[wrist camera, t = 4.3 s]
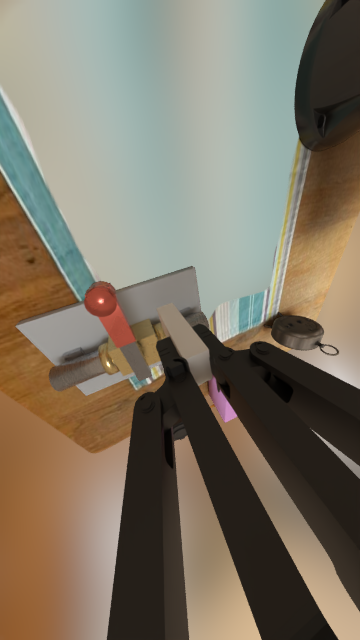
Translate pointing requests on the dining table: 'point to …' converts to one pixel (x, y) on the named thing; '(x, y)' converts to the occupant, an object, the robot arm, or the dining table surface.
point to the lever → (116, 325)
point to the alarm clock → (298, 333)
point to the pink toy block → (220, 401)
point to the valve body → (114, 354)
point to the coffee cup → (179, 430)
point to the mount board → (88, 332)
